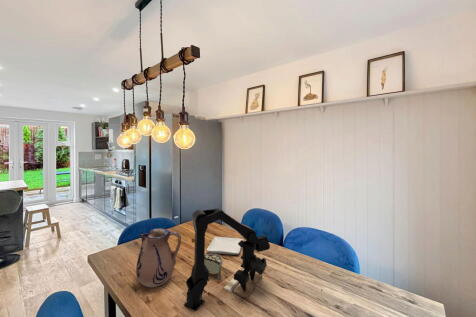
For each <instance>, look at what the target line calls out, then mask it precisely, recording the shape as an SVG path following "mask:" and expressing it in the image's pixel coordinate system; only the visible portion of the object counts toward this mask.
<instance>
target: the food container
mask: <svg viewBox="0 0 476 317" xmlns="http://www.w3.org/2000/svg"><path fill="white" fill-rule="evenodd" d="M223 263H224V262H223V257H222V256H221V254H219V253H207V254H205V259H204V265H206V267H207V269H208V270H209V275H208V278H210V279H214V280H215V281H219V280H220V279H221V273H222V272H221V271H222V266H223Z"/></svg>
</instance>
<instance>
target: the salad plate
mask: <svg viewBox="0 0 476 317" xmlns="http://www.w3.org/2000/svg"><path fill="white" fill-rule="evenodd" d="M241 240H243V241H244V238H237V237H226V236H214V237H213V239H212V241H211V242H210V243H209V246H208V247H207V248H206V251H207V252H208V253H209V254H218V255H221V254H223V255H233V256H236V255H239V254H240V251H241V249H242V247H240V246H239V245H238V243H239V242H240V241H241Z"/></svg>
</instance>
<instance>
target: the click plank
mask: <svg viewBox="0 0 476 317" xmlns="http://www.w3.org/2000/svg"><path fill="white" fill-rule="evenodd" d="M263 276H264V275H263V274H262V275H260V274H258V273H257V272H256V273H255V277H254V280H253V281H251V278H250V274H249V280H248V282H247V285H246V291H243V289H242V287H241V285H240V283H239V284H238V286H237V287H236V288H235V289H234V290H233V291H232V293H233V294H234V295H237V296H239V297H242V298H245V299H248V297H249V296H250V295H251V293H253V291H254V290H255V289H256V287H257V286H258V284H259V283H260V282H261V280H262V279H263Z"/></svg>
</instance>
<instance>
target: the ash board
mask: <svg viewBox="0 0 476 317" xmlns="http://www.w3.org/2000/svg"><path fill="white" fill-rule="evenodd" d="M240 270H242V271H243V270H244V269H242V268H241V269H240ZM239 284H240V283H239V281H237V280H234V277H232V278H231V280H229V281H228V282H227V284H226V285H225V286H224V287H223V290H224V291H225V292H228V293H233V291H234V290H235V288H236V287H237V286H238V285H239Z"/></svg>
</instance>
